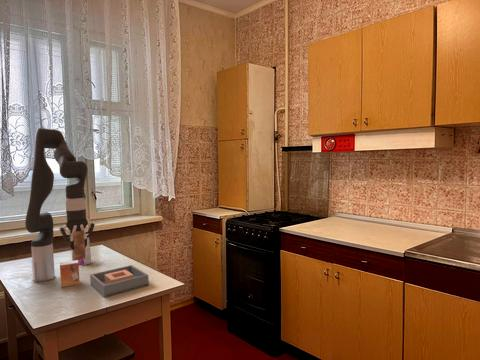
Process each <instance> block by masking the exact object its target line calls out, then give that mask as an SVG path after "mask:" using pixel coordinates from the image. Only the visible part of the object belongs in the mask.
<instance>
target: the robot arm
mask: <svg viewBox="0 0 480 360" xmlns="http://www.w3.org/2000/svg"><path fill="white" fill-rule="evenodd" d="M45 149H49V150H50V149H51V150H53V149H55V150H54V153H53V157H54V159H55V161H56V163H57V164H58V166H59V174H60V176H61V177H62V178H64V179H76V181H75V182H72V183H69V184H67V185H65V210H66V211H65V213H66V223H65V225H64V226H60V227H59V231H60V234H61V235H62V237H63V239H64V240H65V242H66V241H68V243H69V248H70V249H71V251H72V250H74V241H73V239H74V237H73V236H74V232H75V231H80V230H81V231H82V230H84V241H85V248H86V246H87V238H88V237H89V238H91V237H92V235H93V232H94V228H95V224H96V223H94V222H89V221H88V220H87V204H86V199H85V183H86V179H87V175H88V166H87V164H86V162H84V161H82V160H77V159H76V156H75V155H74V154H73V153H72V151H71V150H70V149H69V147H68V144H67V142H66V139H65V136H64V134H63V133H62V132H61V131H60V130H58V129H53V128H43V127H40V128H37V130H36V132H35V135H34V153H33V154H34V157H33V168H32V174H31V182H30V183H31V184H30V187H31V188H30V194H29V201H28V202H29V203H28V206H27V209H26V210H27V212H26V214H25V228H26V231H27V232H28V233H30V234H34V233H38V234H37V235H36V236H35V237H34V238H33V239H32V240H31V241H30V247H31V248H30V250H31V258H32V259H31V270H32V279H33V281H34V282H35V283H38V282H46V281H50V280H52V279H55V277H56V274H55V271H56V270H55V261H54V246H53V245H54V244H53V243H54V242H53V240H54V218H53V216H52V214H51V213H50V212H48V211H41V209H42V207H43V204H44V203H45V201H46V200H47V198H48V197H49V195H51V193H52V191H53V188H54V181H55V180H54V179H55V173H54V172H53V170H52V168H51V167H50V165H49V163H48V162H47V159H46V157H45V156H46V155H45ZM86 227H88V230H87V232H86V230H85V229H86ZM67 229H68V230H69V237H68V234H67V233H66V232H67Z"/></svg>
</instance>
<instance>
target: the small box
mask: <svg viewBox="0 0 480 360" xmlns="http://www.w3.org/2000/svg"><path fill="white" fill-rule="evenodd" d="M79 267H80V264H79V263H78V260H75V261H72V260H70V261H63V262H59V277H60V288H65V287H71V286H78V285H80V284H81V283H80V268H79Z"/></svg>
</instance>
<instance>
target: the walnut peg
mask: <svg viewBox="0 0 480 360" xmlns="http://www.w3.org/2000/svg"><path fill="white" fill-rule="evenodd" d="M73 237H74V239H73V241H74V250H73V258H74V259H75V260H79V259H84V258H86V257H85V241H84V230H82V231H81V230H80V231H75V232H74V236H73Z"/></svg>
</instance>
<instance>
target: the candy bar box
mask: <svg viewBox="0 0 480 360" xmlns="http://www.w3.org/2000/svg"><path fill="white" fill-rule="evenodd" d="M90 244H91V243H90V237H88V238H87V246H86V248H85V257H86V258H84V259H79V260H78V263H79V266H80V265H81V266H87V265H90V264H92V260H91V259H92V258H91V255H92V254H91V245H90ZM71 258H72V260H71V261H75V259H74V258H73V250H72V249H71Z"/></svg>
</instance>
